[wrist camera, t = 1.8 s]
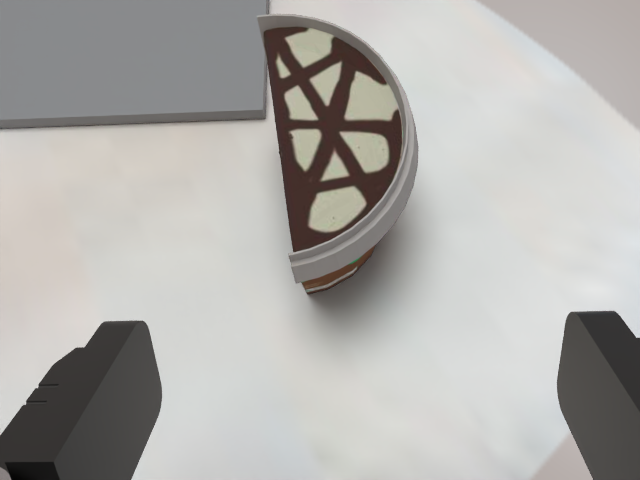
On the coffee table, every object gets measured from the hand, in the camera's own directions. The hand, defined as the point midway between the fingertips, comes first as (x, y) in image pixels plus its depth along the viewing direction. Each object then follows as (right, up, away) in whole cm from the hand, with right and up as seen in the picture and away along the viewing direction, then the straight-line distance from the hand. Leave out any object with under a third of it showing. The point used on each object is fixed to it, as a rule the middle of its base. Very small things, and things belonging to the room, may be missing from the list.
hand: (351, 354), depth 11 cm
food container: (+1, +4, +22) cm, 22 cm away
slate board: (-13, +18, +27) cm, 35 cm away
